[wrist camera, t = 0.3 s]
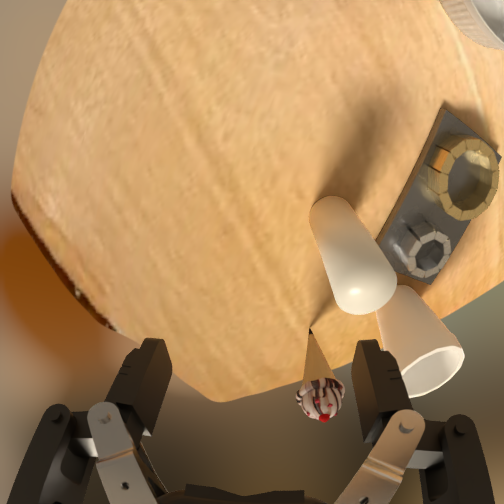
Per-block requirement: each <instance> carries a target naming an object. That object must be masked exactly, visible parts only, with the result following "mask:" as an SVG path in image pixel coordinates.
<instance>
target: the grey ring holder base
mask: <svg viewBox="0 0 504 504" xmlns="http://www.w3.org/2000/svg"><path fill="white" fill-rule="evenodd" d="M500 160H501V156H500V155H499V154H498V153H497V152H496V151H495V150H494V149H493V148H492V147H491V146H490V145H488V144H487V143H486V142H485V141H484V140H483V139H482V138H481V137H479V136H478V135H477V134H476V133H475V132H474V131H472V130H471V129H470V128H469V127H468V126H466V125H465V124H464V123H463V122H461V121H460V120H459V119H458V118H456V117H455V116H454V115H453V114H451V113H450V112H449V111H447V110H445V109H441V108H440V111H439V113H438V116H437V118H436V120H435V123H434V125H433V127H432V130H431V132H430V134H429V137H428V139H427V141H426V143H425V145H424V148H423V150H422V152H421V154H420V156H419V158H418V161H417V163H416V165H415V167H414V169H413V171H412V173H411V175H410V177H409V179H408V181H407V183H406V185H405V187H404V189H403V191H402V193H401V195H400V197H399V199H398V201H397V203H396V204H395V206H394V208H393V210H392V212H391V214H390V216H389V218H388V219H387V221H386V223H385V225H384V227H383V228H382V230H381V232H380V234H379V236H378V237H377V239H376V241H375V242H376V243H377V245H378V246H379V248H380V249H381V251H382V252H383V254H384V255H385V257H386V258H387V260H388V262H389V263H390V265H391V266H392V268H393V269H394V271H395V272H398V273H401V274H403V275H406V276H409V277H411V278H414V279H417V280H419V281H422V282H425V283H427V284H430V285H431V284H432V282H433V281H434V279H435V278H436V276H437V275H438V273H439V272H440V270H441V269H442V268H443V266H444V265H445V263H446V262H447V260H448V259H449V257H450V255H451V253H452V252H453V250H454V248H455V247H456V245H457V243H458V242H459V240H460V238H461V237H462V235H463V233H464V231H465V230H466V228H467V226H468V224H469V223H470V221H471V219H474V217H475V218H476V217H478V216H479V215H480V214H481V213H482V212H484V211H485V210H486V209H487V208H488V206H490V204H491V202H492V200H493V198H494V196H495V194H496V192H497V190H496V189H498V180H499V170H498V169H499V166H498V164H499V162H500ZM487 205H488V206H487Z"/></svg>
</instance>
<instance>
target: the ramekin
mask: <svg viewBox="0 0 504 504" xmlns="http://www.w3.org/2000/svg"><path fill="white" fill-rule="evenodd" d="M440 2H441V4H442V6H443V8H444V10H445V12H446V14H447V15H448V17H449V18H450V20H451V21H452V22H453V23H454V25H455V26H456V27H457V28H458V29H459V30H460V31H461V32H462V33H463V34H464V35H465V36H467V37H468V38H469V39H471V40H472V41H474V42H475V43H477V44H479V45H482V46H484V47H487V48H493V49H498V50H504V0H440Z"/></svg>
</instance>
